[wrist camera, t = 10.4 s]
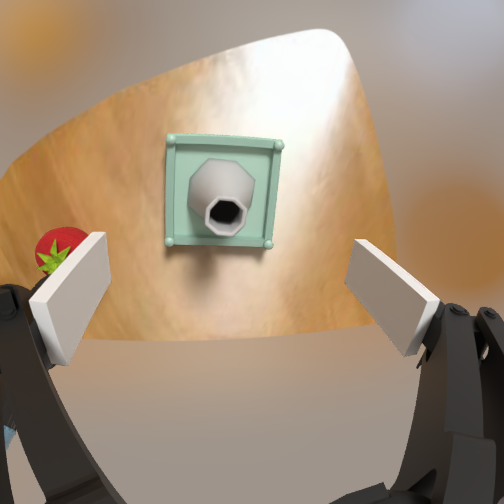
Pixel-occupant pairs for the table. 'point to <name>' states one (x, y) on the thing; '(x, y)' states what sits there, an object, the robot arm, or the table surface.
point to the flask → (221, 195)
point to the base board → (228, 148)
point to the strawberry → (57, 247)
